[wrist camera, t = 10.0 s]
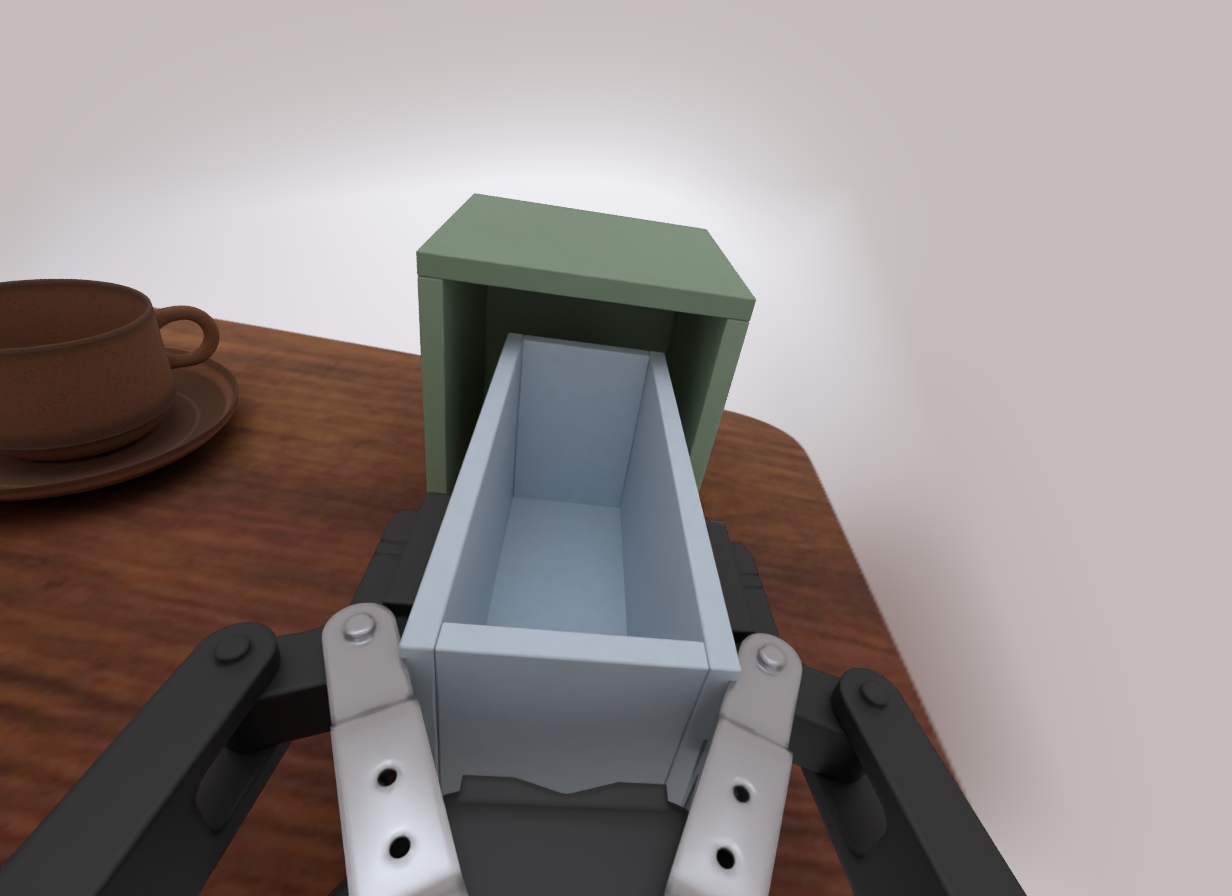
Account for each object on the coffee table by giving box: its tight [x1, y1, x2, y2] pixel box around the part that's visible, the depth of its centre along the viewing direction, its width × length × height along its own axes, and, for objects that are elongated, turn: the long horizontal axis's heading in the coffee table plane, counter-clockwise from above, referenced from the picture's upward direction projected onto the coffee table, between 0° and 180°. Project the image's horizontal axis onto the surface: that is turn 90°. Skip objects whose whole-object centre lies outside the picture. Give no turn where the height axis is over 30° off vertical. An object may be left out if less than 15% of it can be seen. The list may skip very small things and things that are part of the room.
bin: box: [399, 333, 741, 806], centre depth 18 cm, size 14×6×8 cm, turn 2°
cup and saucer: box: [0, 279, 238, 501], centre depth 24 cm, size 12×12×6 cm
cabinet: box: [416, 194, 756, 494], centre depth 25 cm, size 10×11×12 cm
